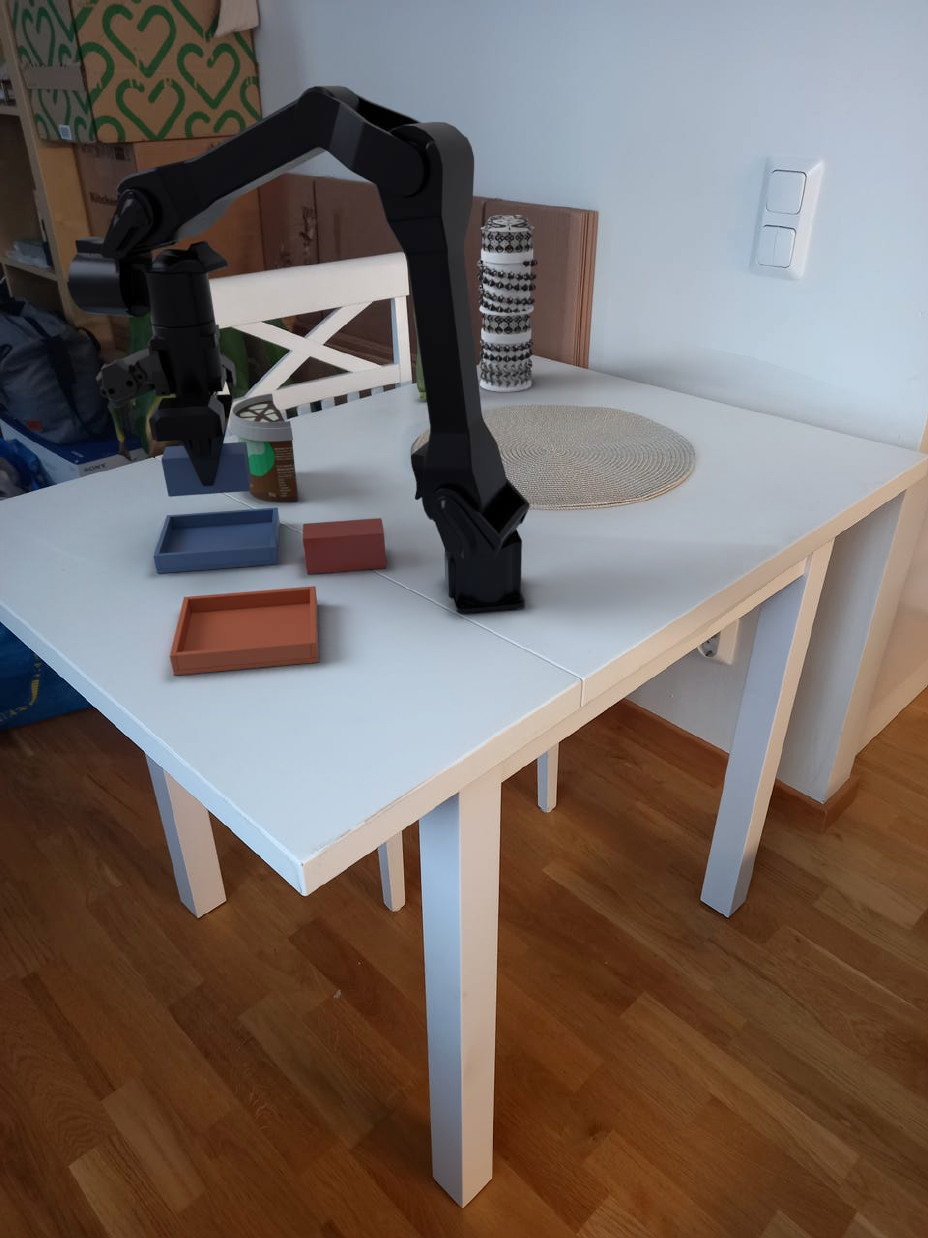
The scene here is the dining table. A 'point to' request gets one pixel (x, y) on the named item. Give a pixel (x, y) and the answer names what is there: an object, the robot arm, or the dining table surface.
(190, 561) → the blue tray
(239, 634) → the orange tray
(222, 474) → the blue bar
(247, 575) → the dining table surface
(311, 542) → the red bar
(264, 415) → the food container
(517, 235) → the decorative candle
